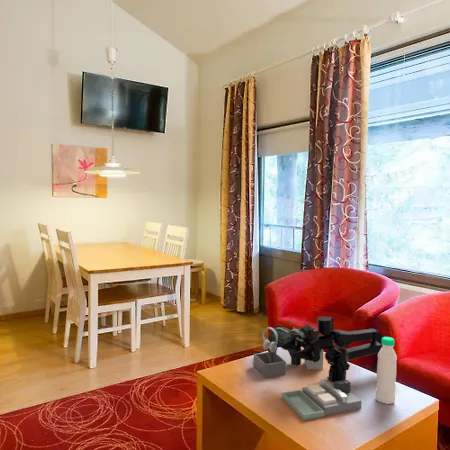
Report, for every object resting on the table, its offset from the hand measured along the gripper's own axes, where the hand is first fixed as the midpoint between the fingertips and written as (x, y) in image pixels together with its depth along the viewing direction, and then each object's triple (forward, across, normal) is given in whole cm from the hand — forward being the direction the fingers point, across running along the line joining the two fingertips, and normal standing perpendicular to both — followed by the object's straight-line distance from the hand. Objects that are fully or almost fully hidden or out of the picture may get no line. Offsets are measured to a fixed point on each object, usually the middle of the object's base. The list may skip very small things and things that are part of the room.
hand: (286, 350), depth 164 cm
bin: (+2, +14, +16) cm, 21 cm away
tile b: (-6, +17, +14) cm, 23 cm away
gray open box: (0, -18, +16) cm, 24 cm away
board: (-11, +14, +18) cm, 25 cm away
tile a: (-6, +10, +14) cm, 19 cm away
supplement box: (-22, -16, +19) cm, 33 cm away
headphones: (0, -18, +17) cm, 25 cm away
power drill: (-12, -26, +18) cm, 34 cm away
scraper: (-15, +14, +15) cm, 25 cm away
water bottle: (-32, +20, +20) cm, 42 cm away
